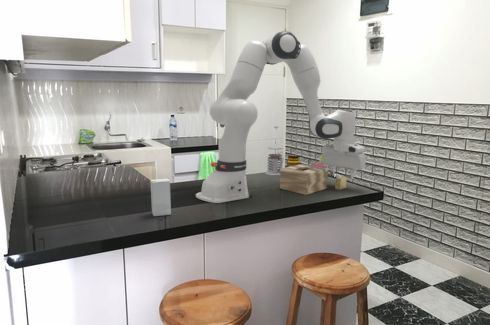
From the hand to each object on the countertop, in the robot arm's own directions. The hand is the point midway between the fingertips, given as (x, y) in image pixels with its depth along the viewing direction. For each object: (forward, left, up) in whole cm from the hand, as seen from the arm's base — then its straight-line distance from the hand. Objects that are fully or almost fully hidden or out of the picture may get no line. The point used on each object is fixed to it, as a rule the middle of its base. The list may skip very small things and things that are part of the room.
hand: (341, 176), depth 166 cm
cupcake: (+11, +20, -6) cm, 23 cm away
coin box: (-13, +11, -5) cm, 18 cm away
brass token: (0, 0, -5) cm, 5 cm away
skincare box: (-79, +23, -6) cm, 83 cm away
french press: (+1, +39, -6) cm, 39 cm away
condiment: (-2, +26, -6) cm, 27 cm away
